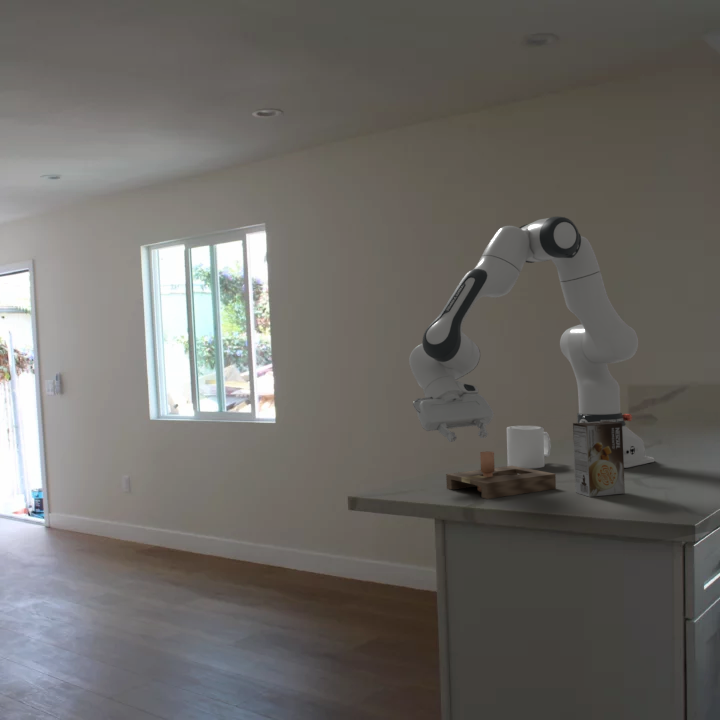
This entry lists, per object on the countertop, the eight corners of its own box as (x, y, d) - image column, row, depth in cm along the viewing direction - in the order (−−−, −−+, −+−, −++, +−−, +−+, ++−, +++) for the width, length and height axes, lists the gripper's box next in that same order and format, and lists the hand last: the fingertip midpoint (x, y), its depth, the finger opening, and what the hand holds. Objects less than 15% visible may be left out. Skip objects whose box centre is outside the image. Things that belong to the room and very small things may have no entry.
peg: (490, 487, 192) (489, 450, 192) (503, 490, 188) (502, 452, 188) (473, 490, 190) (472, 452, 190) (486, 493, 186) (484, 454, 186)
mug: (534, 460, 233) (533, 423, 232) (561, 464, 224) (559, 426, 224) (499, 465, 225) (498, 427, 225) (526, 469, 217) (525, 430, 216)
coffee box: (609, 489, 186) (607, 420, 185) (625, 494, 179) (623, 422, 179) (574, 492, 183) (572, 422, 183) (589, 497, 177) (587, 425, 177)
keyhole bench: (512, 479, 202) (512, 465, 202) (555, 488, 188) (555, 473, 188) (446, 488, 193) (446, 473, 193) (487, 498, 179) (486, 483, 179)
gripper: (414, 390, 197) (438, 433, 188) (481, 385, 207) (507, 426, 198) (405, 408, 201) (428, 450, 193) (472, 402, 211) (496, 442, 202)
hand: (469, 438), depth 195 cm, fingers open, 8 cm apart
